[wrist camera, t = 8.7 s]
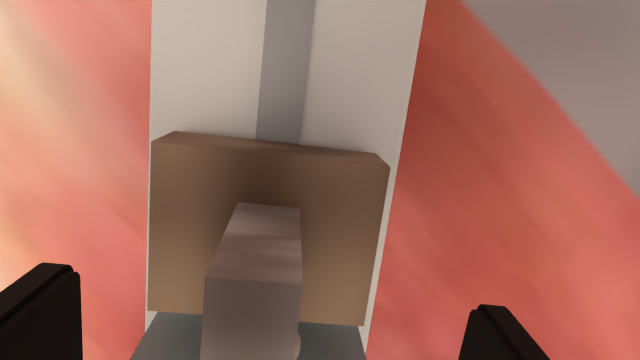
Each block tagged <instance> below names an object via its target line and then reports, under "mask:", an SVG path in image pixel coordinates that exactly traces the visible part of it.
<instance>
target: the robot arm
mask: <svg viewBox="0 0 640 360" xmlns="http://www.w3.org/2000/svg"><path fill="white" fill-rule="evenodd" d="M0 360H83V351H82V320H81V289H80V275H79V273H77V272H74V271H73V268H72V267H71V266H70V265H64V264H54V263H41V264H39V265H37V266H36V267H35V268H33V269H32V270H30V271H29V272H28V273H26V274H25V275H23V276H22V277H21V278H19V279H18V280H17V281H15V282H14V283H12V284H11V285H10V286H8V287H7V288H6V289H4V290H3V291H1V292H0ZM458 360H550V359H549V358H548V356H547V355H546V354H545V353H544V352H543V350H542V349H541V348H540V347H539V346H538V344H537V343H536V342H535V341H534V340H533V338H532V337H531V336H530V335H529V334H528V332H527V331H526V330H525V329H524V328H523V327H522V325H521V324H520V323H519V322H518V321H517V319H516V318H515V317H514V316H513V315H512V313H511V312H510V311H509V310H508V309H507V308H506V307H504V306H495V305H485V304H481V305H479V306H478V308H477V310H472V311H471V312H470V315H469V318H468V323H467V327H466V331H465V335H464V339H463V343H462V347H461V351H460V355H459V359H458Z"/></svg>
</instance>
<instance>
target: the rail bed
mask: <svg viewBox="0 0 640 360" xmlns="http://www.w3.org/2000/svg"><path fill="white" fill-rule="evenodd" d="M425 6H426V0H152V24H151V71H150V119H149V167H148V214H147V262H146V310H145V333H146V331H147V329H148V327H149V326H150V324H151V322H152V320H153V319H154V317H155V315H156V314H157V312H158V311H147V303H148V258H149V213H150V168H151V141H153V140H155V139H158V138H160V137H162V136H164V135H166V134H168V133H171V132H173V131H182V132H191V133H200V134H209V135H218V136H227V137H236V138H244V139H253V140H262V141H271V142H280V143H289V144H298V145H307V146H316V147H325V148H334V149H343V150H352V151H361V152H370V153H376V154H377V155H378V156H379V157H380V158H381V159H382V160H383V161H384V162H385V163H386V164H388V165H389V166H390V167H391V168H390V174H389V180H388V186H387V192H386V198H385V204H384V210H383V216H382V222H381V227H380V233H379V239H378V245H377V251H376V257H375V263H374V269H373V275H372V281H371V287H370V293H369V299H368V305H367V311H366V317H365V322H364V326H358V329H359V332H360V336H361V340H362V344H363V348H364V352H365V353H366V348H367V342H368V336H369V330H370V324H371V319H372V313H373V307H374V301H375V295H376V290H377V284H378V278H379V272H380V266H381V261H382V255H383V249H384V243H385V238H386V232H387V226H388V220H389V214H390V209H391V203H392V197H393V191H394V185H395V180H396V174H397V168H398V162H399V156H400V151H401V145H402V139H403V133H404V127H405V122H406V116H407V110H408V104H409V99H410V93H411V87H412V81H413V75H414V70H415V64H416V58H417V52H418V46H419V41H420V35H421V29H422V23H423V17H424V12H425Z"/></svg>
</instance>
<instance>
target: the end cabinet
mask: <svg viewBox="0 0 640 360" xmlns="http://www.w3.org/2000/svg"><path fill="white" fill-rule="evenodd" d="M202 316H203V315H200V314H186V313H172V312H157V314H156V315H155V317H154V319H153V320H152V322H151V324H150V326H149V327H148V329H147V331H146V333H145V334H144V336H143V338H142V339H141V341H140V343H139V345H138V346H137V348H136V350H135V352H134V353H133V355H132V357H131V358H130V360H200V349H201V333H202ZM294 360H366V356H365V352H364V348H363V344H362V340H361V336H360V332H359V329H358V326H352V325H338V324H324V323H310V322H298V329H297V338H296V346H295V354H294Z"/></svg>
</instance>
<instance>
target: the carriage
mask: <svg viewBox="0 0 640 360" xmlns="http://www.w3.org/2000/svg"><path fill="white" fill-rule="evenodd" d="M390 168H391V167H390V166H389V165H388V164H386V163H385V162H384V161H383V160H382V159H381V158H380V157H379V156H378V155H377V154H376V153H370V152H361V151H352V150H343V149H334V148H325V147H316V146H307V145H298V144H289V143H280V142H271V141H262V140H253V139H244V138H236V137H227V136H218V135H209V134H200V133H191V132H182V131H173V132H171V133H168V134H166V135H164V136H162V137H160V138H158V139H155V140H153V141H151V168H150V213H149V258H148V303H147V311H158V312H172V313H186V314H200V315H203V316H202V333H201V349H200V360H294V354H295V346H296V338H297V329H298V322H310V323H324V324H338V325H352V326H364V322H365V317H366V311H367V305H368V299H369V293H370V287H371V281H372V275H373V269H374V263H375V257H376V251H377V245H378V239H379V233H380V227H381V222H382V216H383V210H384V204H385V198H386V192H387V186H388V180H389V174H390Z"/></svg>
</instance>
